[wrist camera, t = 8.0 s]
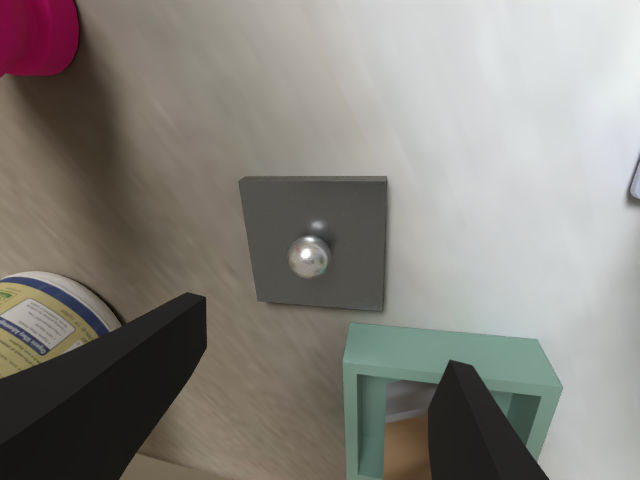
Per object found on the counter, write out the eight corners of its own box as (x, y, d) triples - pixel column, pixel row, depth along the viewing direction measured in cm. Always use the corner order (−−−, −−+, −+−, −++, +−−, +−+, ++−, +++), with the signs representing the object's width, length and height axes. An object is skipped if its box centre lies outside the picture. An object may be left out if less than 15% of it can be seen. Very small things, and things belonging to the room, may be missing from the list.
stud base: (386, 176, 17) (384, 194, 15) (382, 301, 21) (380, 335, 18) (245, 176, 19) (219, 193, 16) (263, 292, 22) (244, 322, 20)
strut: (448, 367, 21) (474, 510, 14) (475, 413, 22) (511, 566, 15) (386, 383, 23) (381, 518, 16) (414, 425, 24) (421, 568, 17)
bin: (537, 339, 20) (563, 387, 17) (503, 457, 24) (519, 511, 21) (350, 322, 22) (342, 362, 19) (352, 433, 27) (346, 479, 24)
